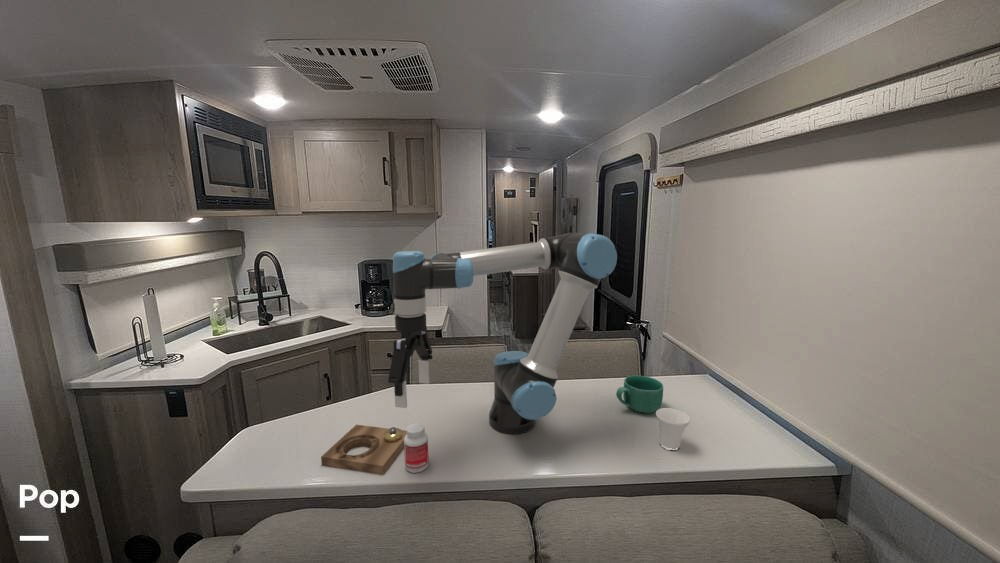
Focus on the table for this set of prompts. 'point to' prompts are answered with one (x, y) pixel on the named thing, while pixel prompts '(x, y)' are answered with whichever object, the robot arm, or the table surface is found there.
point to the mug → (641, 393)
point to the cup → (671, 426)
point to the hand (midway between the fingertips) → (413, 394)
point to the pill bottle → (416, 448)
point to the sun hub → (392, 435)
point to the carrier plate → (368, 461)
